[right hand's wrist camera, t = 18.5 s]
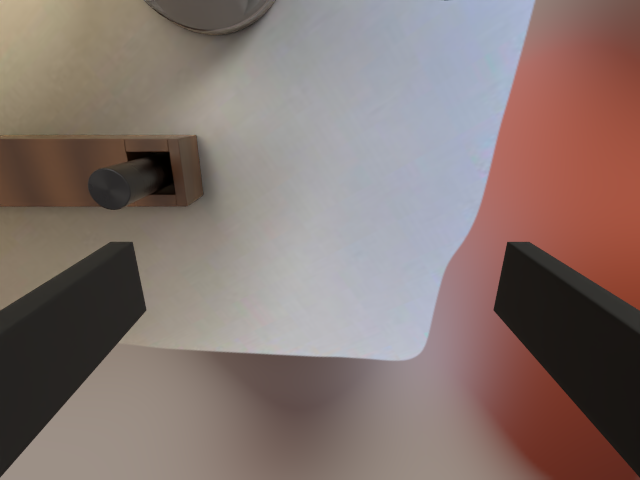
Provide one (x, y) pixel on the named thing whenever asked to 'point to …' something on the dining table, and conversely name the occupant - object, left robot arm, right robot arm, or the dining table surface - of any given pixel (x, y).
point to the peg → (130, 180)
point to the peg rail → (90, 167)
